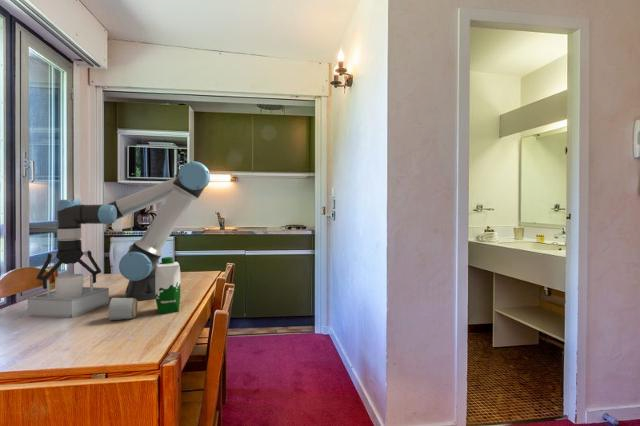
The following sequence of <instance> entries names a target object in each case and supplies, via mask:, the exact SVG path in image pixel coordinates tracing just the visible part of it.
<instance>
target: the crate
mask: <svg viewBox="0 0 640 426" xmlns="http://www.w3.org/2000/svg"><path fill="white" fill-rule="evenodd" d="M109 289H110V287H100V286H99V287H96V286H93V292H90V286H83V290H82V296H79V297H75V298H72V299H67V298H57V295H56V289H55V290H51V291H50V298H47V292H43V293H40V294H36V295H34V296H30V297H27V317H42V318H43V317H44V318H45V317H48V318H64V319H65V318H66V319H67V318H68V319H69V318H70V319H73V318H76V317H78V316H81V315H84V314H85V313H89V312H91V310H92V311H93V310H96V309H98V308H101V307H104V306H107V305H109V303H110V297H109V296H110V295H109V292H110V291H109Z"/></svg>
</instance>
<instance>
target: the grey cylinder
mask: <svg viewBox="0 0 640 426" xmlns="http://www.w3.org/2000/svg"><path fill="white" fill-rule="evenodd" d="M138 307H139V306H138V300H136V299H135V298H125V297H111V299H109V304H108V310H107V311H108V312H107V313H108V315H107V316H108V319H109V320H110V321H119V320H131V319H134V318H135V317H136V316H137V313H138Z"/></svg>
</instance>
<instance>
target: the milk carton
mask: <svg viewBox="0 0 640 426" xmlns="http://www.w3.org/2000/svg"><path fill="white" fill-rule="evenodd" d="M155 275H156V276H155V296H156V298H155V303H156V307H157V313H158V314H159V315H161V314H169V313H176V312H177V313H179V312H180V311H179V310H180V303H181V267H180V263H179V262H178V261H174V258H173V257H172V256H168V257H166V256H165V257H161V262H159V263H157V264H156V270H155Z"/></svg>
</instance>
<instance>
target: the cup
mask: <svg viewBox="0 0 640 426" xmlns="http://www.w3.org/2000/svg"><path fill="white" fill-rule="evenodd" d="M54 280H55V281H54V289H55V290H56V295H57V298H67V299H72V298H75V297H79V296H82V290H83V287H84V274H81V273H69V274H68V273H67V274H62V275H58V276H55V277H54Z"/></svg>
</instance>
